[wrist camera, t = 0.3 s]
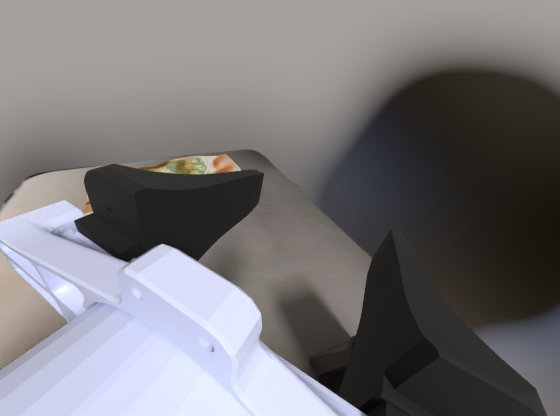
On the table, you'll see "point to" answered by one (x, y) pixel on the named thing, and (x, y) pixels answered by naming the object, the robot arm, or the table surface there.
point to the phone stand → (332, 365)
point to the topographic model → (188, 168)
